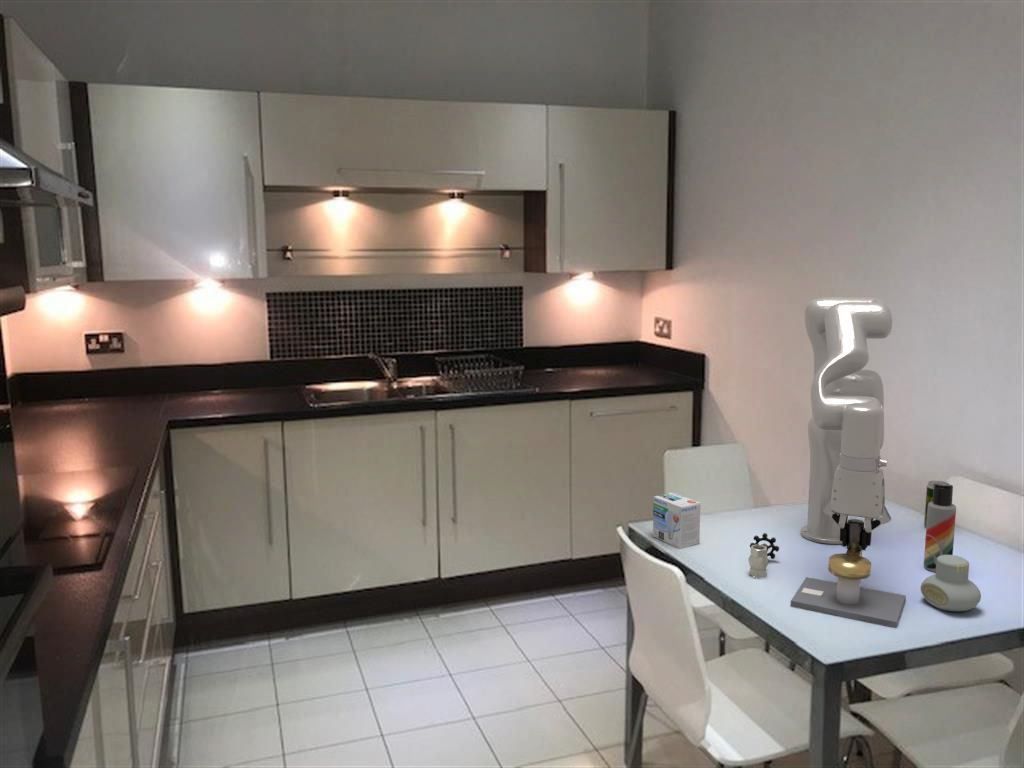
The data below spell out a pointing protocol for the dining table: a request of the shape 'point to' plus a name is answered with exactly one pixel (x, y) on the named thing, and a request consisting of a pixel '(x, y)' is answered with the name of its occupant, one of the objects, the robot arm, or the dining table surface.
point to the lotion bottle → (939, 526)
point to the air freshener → (951, 585)
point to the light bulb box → (676, 520)
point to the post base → (849, 601)
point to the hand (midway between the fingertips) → (854, 545)
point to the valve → (761, 555)
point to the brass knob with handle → (851, 555)
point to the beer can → (930, 495)
